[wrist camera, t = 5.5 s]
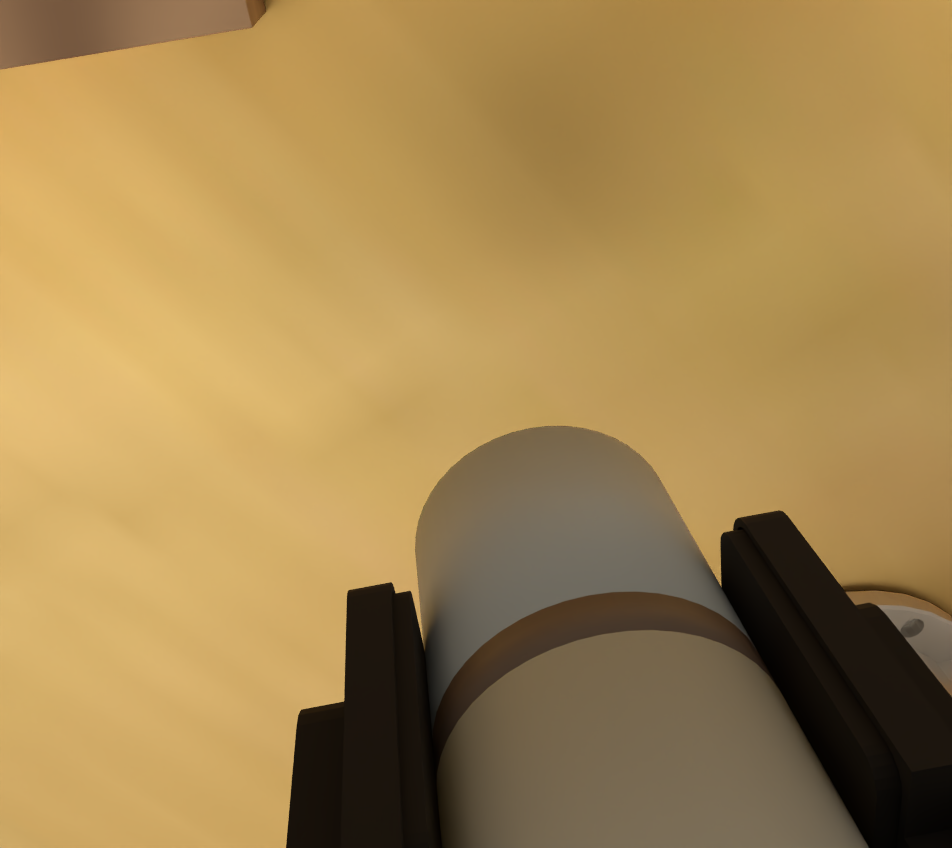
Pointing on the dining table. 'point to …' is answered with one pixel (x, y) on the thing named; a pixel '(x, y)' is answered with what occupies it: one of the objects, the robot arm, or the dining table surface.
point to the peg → (598, 666)
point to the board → (111, 25)
